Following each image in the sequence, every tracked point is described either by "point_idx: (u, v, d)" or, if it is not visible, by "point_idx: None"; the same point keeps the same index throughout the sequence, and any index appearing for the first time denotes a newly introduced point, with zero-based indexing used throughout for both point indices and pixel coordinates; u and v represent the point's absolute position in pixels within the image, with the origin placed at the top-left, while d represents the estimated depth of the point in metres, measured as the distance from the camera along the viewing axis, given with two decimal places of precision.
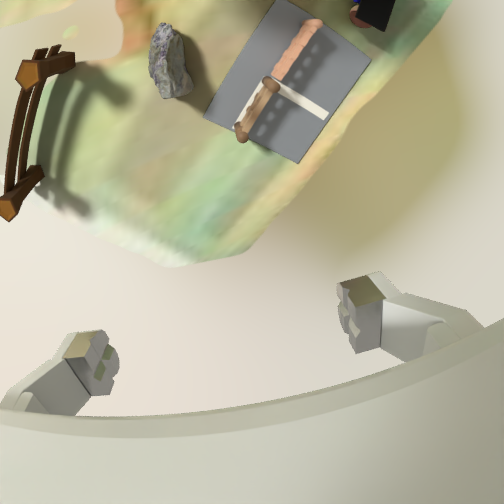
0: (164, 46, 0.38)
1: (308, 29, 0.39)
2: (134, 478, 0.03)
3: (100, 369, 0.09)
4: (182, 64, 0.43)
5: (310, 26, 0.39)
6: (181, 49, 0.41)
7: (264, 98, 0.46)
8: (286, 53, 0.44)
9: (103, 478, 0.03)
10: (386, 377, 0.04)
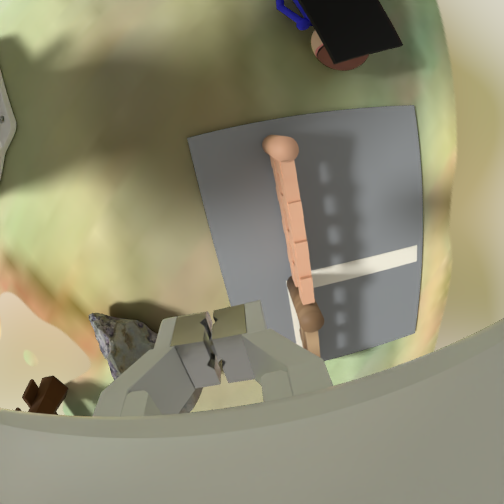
0: (113, 369, 0.25)
1: (280, 173, 0.21)
2: (134, 478, 0.03)
3: (210, 355, 0.09)
4: None
5: (278, 164, 0.20)
6: (142, 340, 0.29)
7: (310, 341, 0.26)
8: (286, 234, 0.26)
9: (103, 478, 0.03)
10: (386, 377, 0.04)
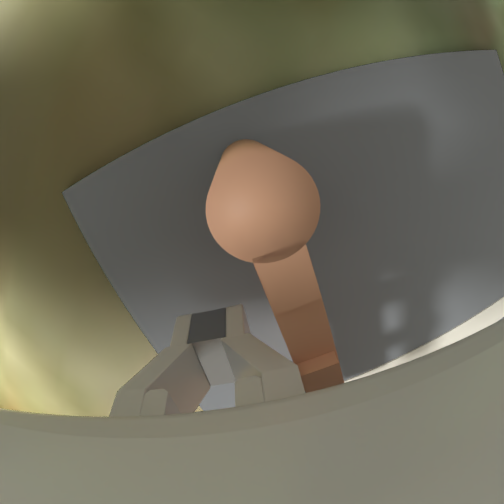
0: None
1: None
2: (134, 478, 0.03)
3: None
4: None
5: None
6: None
7: None
8: None
9: (103, 478, 0.03)
10: (386, 377, 0.04)
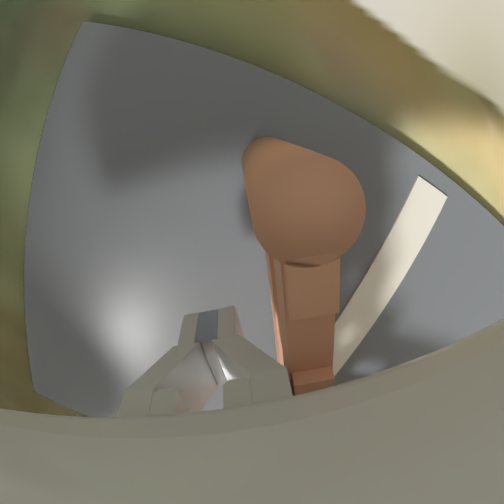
0: None
1: (281, 288, 0.06)
2: (134, 478, 0.03)
3: None
4: None
5: None
6: None
7: None
8: None
9: (103, 478, 0.03)
10: (386, 377, 0.04)
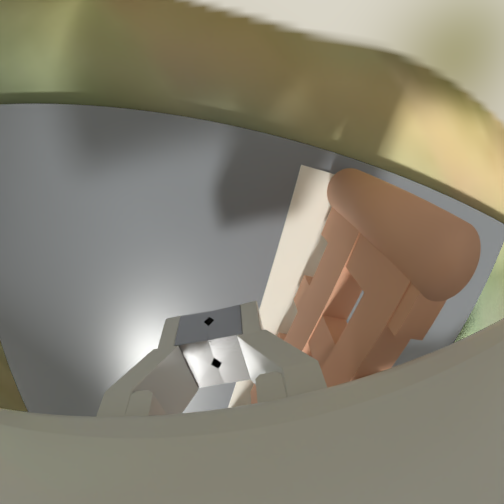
0: None
1: (383, 307, 0.06)
2: (134, 478, 0.03)
3: None
4: None
5: (395, 280, 0.06)
6: None
7: None
8: None
9: (103, 478, 0.03)
10: (386, 377, 0.04)
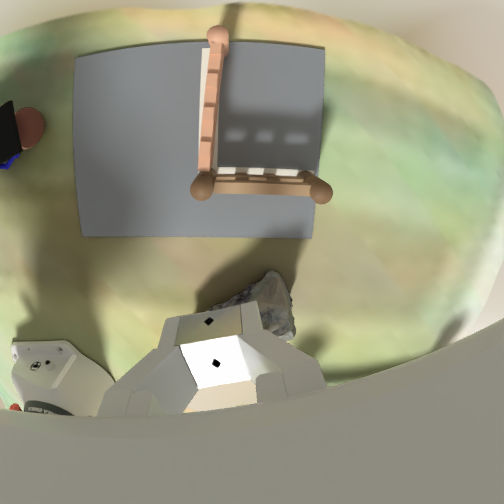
0: None
1: None
2: (134, 478, 0.03)
3: None
4: None
5: None
6: None
7: (232, 190, 0.26)
8: None
9: (103, 478, 0.03)
10: (386, 377, 0.04)
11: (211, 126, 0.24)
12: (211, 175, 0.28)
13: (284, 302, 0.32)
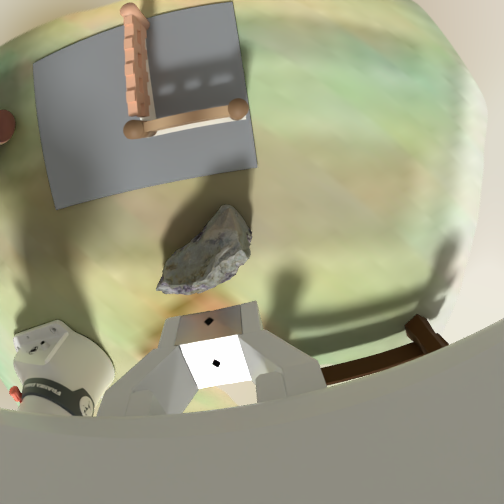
0: (179, 289, 0.34)
1: None
2: (134, 478, 0.03)
3: None
4: (195, 245, 0.35)
5: None
6: (178, 256, 0.36)
7: (159, 125, 0.27)
8: None
9: (103, 478, 0.03)
10: (386, 377, 0.04)
11: (133, 78, 0.25)
12: (145, 121, 0.29)
13: (234, 225, 0.33)
